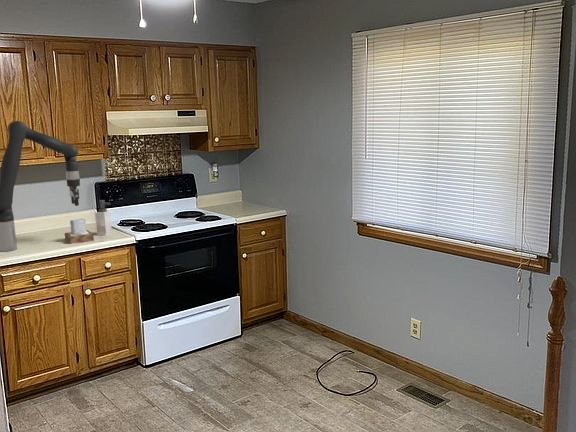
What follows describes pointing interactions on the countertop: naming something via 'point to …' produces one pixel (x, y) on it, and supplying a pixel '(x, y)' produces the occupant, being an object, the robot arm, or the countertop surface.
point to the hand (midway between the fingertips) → (75, 204)
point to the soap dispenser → (103, 220)
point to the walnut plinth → (79, 237)
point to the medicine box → (78, 226)
